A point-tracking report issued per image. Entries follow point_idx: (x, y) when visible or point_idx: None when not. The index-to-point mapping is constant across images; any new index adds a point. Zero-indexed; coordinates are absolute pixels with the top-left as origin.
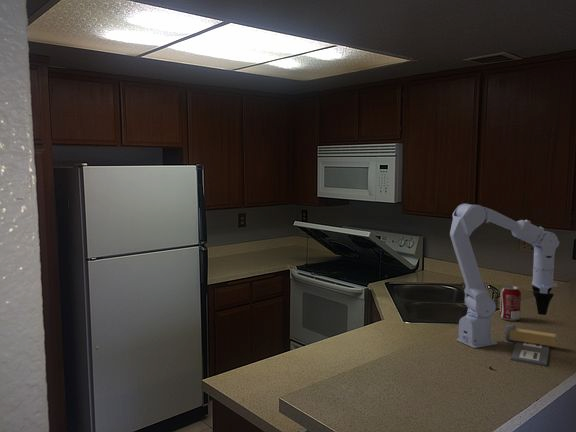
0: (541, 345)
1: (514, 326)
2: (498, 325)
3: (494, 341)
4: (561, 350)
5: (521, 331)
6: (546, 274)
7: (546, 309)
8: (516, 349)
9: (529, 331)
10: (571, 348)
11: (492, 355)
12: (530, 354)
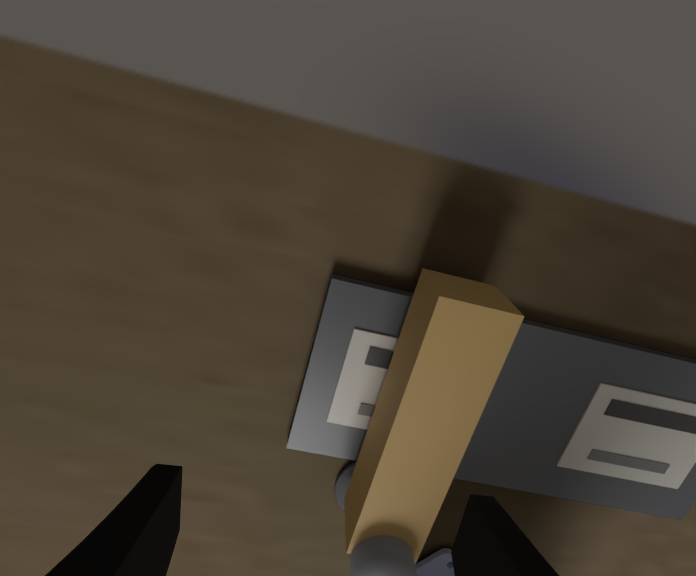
0: None
1: (394, 562)
2: (36, 513)
3: (430, 563)
4: (479, 233)
5: (426, 508)
6: None
7: (539, 561)
8: (549, 485)
9: (413, 463)
10: (418, 149)
11: (615, 569)
12: (633, 435)
